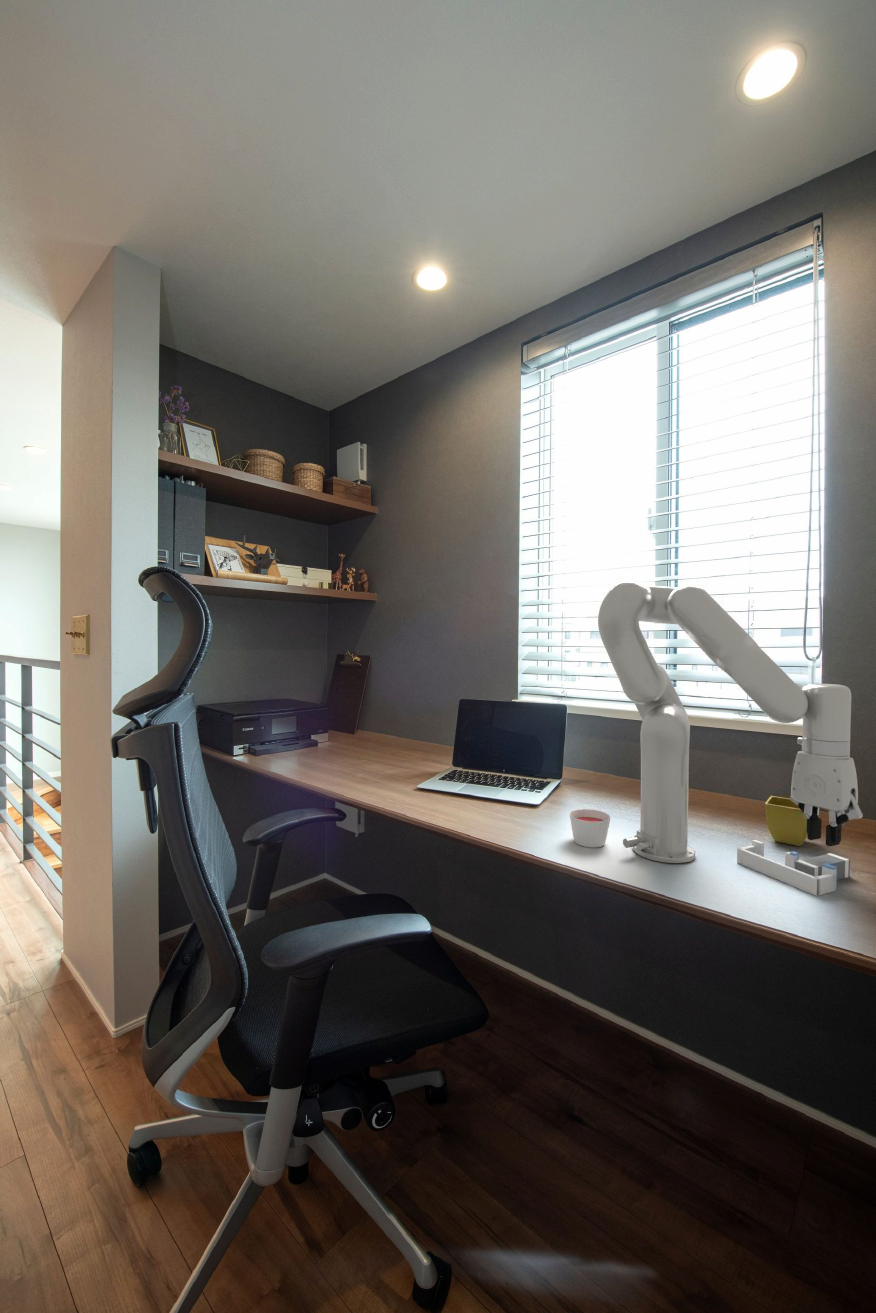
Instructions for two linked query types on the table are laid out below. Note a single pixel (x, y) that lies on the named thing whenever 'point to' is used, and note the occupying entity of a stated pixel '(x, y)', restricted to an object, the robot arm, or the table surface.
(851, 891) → the table surface
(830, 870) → the white arch handle
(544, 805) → the table surface
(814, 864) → the white-capped gray brick
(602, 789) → the table surface
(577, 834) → the candle
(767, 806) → the flower pot
